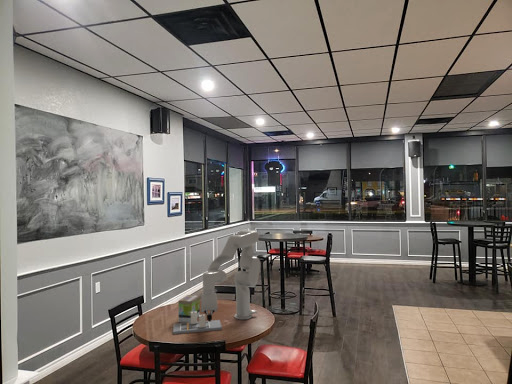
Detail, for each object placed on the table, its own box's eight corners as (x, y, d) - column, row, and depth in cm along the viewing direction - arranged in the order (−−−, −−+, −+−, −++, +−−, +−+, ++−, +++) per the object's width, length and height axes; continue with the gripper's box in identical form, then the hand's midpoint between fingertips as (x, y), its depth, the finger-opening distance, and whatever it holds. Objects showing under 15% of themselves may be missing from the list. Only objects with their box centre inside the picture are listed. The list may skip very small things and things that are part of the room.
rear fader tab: (197, 321, 230) (196, 310, 231) (197, 323, 227) (197, 312, 228) (190, 322, 230) (190, 311, 230) (191, 324, 227) (190, 312, 227)
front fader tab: (205, 325, 223) (205, 313, 224) (205, 327, 221) (205, 315, 221) (199, 326, 223) (198, 314, 223) (199, 327, 220) (199, 315, 220)
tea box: (192, 323, 234) (191, 301, 234) (178, 322, 236) (177, 300, 236) (200, 315, 249) (199, 295, 249) (186, 315, 251) (186, 294, 251)
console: (219, 322, 235) (219, 319, 235) (221, 329, 221) (221, 326, 221) (173, 326, 229) (173, 323, 229) (172, 334, 215) (172, 331, 215)
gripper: (220, 289, 228) (220, 317, 228) (196, 291, 225) (197, 319, 225) (221, 292, 221) (221, 321, 220) (197, 294, 218) (197, 323, 217)
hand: (209, 320), depth 222 cm, fingers closed
